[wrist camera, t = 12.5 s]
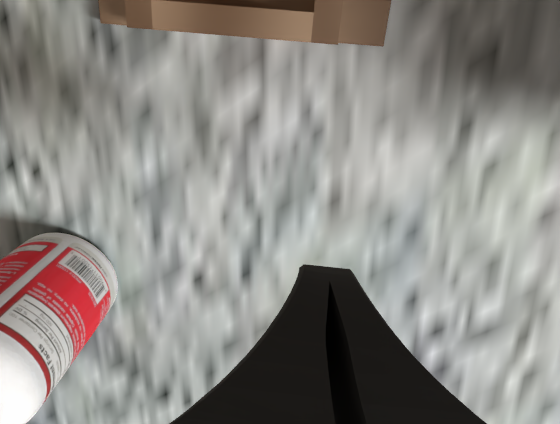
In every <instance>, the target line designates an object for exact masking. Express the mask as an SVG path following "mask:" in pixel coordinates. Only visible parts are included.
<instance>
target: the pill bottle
mask: <svg viewBox="0 0 560 424" xmlns="http://www.w3.org/2000/svg"><path fill="white" fill-rule="evenodd" d="M117 292H118V281H117V276H116V273H115V270H114V268H113V266H112V264H111V263H110V261H109V260H108V259H107V257H106V256H105V255H104V254H103V253H102V252H101V251H100V250H99V249H97V248H96V247H95V246H94V245H92V244H91V243H89V242H87V241H85V240H83V239H81V238H79V237H76V236H73V235H69V234H64V233H44V234H40V235H37V236H35V237H32V238H30V239H29V240H27V241H26V242H24V243H23V244H21V245H20V246H18V247H17V248H16V249H15V250H13V251H12V252H11V253H9V254H8V255H7V256H5V257H4V258H3V259H1V260H0V424H25V423H26V422H28V421H29V420H30V419H31V418H32V417H33V416H34V415H35V414H36V412H37V411H38V410H39V408H40V407H41V406H42V404H43V403H44V402H45V401H46V399H47V398H48V396H49V395H50V393H51V392H52V390H53V389H54V388H55V386H56V385H57V383H58V382H59V381H60V379H61V378H62V376H63V375H64V374H65V372H66V371H67V369H68V368H69V366H70V365H71V364H72V362H73V361H74V360H75V358H76V357H77V355H78V354H79V352H80V351H81V350H82V348H83V347H84V345H85V344H86V343H87V341H88V340H89V338H90V337H91V335H92V334H93V333H94V331H95V330H96V328H97V327H98V325H99V324H100V323H101V321H102V320H103V318H104V317H105V315H106V314H107V313H108V311H109V310H110V308H111V306H112V305H113V303H114V301H115V299H116V296H117Z"/></svg>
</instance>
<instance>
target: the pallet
mask: <svg viewBox="0 0 560 424" xmlns="http://www.w3.org/2000/svg"><path fill="white" fill-rule="evenodd" d="M98 2H99V11H100V21H101V23H105V24H117V25H127V27H130V28H142V29H155V30H167V31H179V32H191V33H203V34H215V35H227V36H240V37H252V38H264V39H276V40H288V41H300V42H312V43H325V44H337V45H338V43H348V44H360V45H372V46H384V40H385V34H386V28H387V22H388V16H389V10H390V4H391V0H98Z"/></svg>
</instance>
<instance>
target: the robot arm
mask: <svg viewBox="0 0 560 424" xmlns="http://www.w3.org/2000/svg"><path fill="white" fill-rule="evenodd" d="M170 424H486V423H485V422H484V421H483V420H482V419H480V418H479V417H478V416H477V415H475V414H474V413H473V412H472V411H471V410H470V409H468V408H467V407H466V406H465V405H464V404H463V403H462V402H460V401H459V400H458V399H457V398H456V397H455V396H454V395H452V394H451V393H450V392H449V391H448V390H447V389H446V388H445V387H444V386H443V385H442V384H441V383H439V382H438V381H437V380H436V379H435V378H434V377H433V376H432V375H431V374H430V373H429V372H428V371H427V370H426V369H425V368H424V366H423V365H422V364H421V363H420V362H419V361H418V360H417V359H416V358H415V357H414V356H413V355H412V354H411V353H410V352H409V350H408V349H407V348H406V347H405V346H404V345H403V343H402V342H401V341H400V340H399V338H398V337H397V336H396V335H395V334H394V332H393V331H392V330H391V328H390V327H389V326H388V325H387V323H386V322H385V320H384V319H383V318H382V316H381V315H380V314H379V312H378V311H377V309H376V308H375V307H374V305H373V304H372V302H371V301H370V299H369V298H368V296H367V295H366V293H365V292H364V290H363V288H362V287H361V285H360V284H359V282H358V280H357V279H356V277H355V275H354V274H353V272H352V271H351V270H350V269H342V268H333V267H323V266H314V265H303V266H301V267H300V268H299V273H298V277H297V280H296V282H295V284H294V286H293V289H292V291H291V293H290V294H289V296H288V298H287V300H286V302H285V303H284V305H283V307H282V309H281V310H280V312H279V313H278V315H277V316H276V318H275V319H274V321H273V322H272V323H271V325H270V326H269V328H268V329H267V331H266V332H265V333H264V335H263V336H262V337H261V338H260V340H259V341H258V342H257V343H256V345H255V346H254V347H253V348H252V349H251V350H250V352H249V353H248V354H247V355H246V356H245V357H244V358H243V359H242V360H241V362H240V363H239V364H238V365H237V366H236V367H235V368H234V369H233V370H232V371H231V372H230V373H229V374H228V375H227V376H226V377H225V378H224V379H223V380H222V381H221V382H220V383H219V384H217V385H216V386H215V387H214V388H213V389H212V390H211V391H209V392H208V393H207V394H206V395H205V396H203V397H202V398H201V399H200V400H199V401H198V402H196V403H195V404H194V405H193V406H192V407H191V408H189V409H188V410H187V411H186V412H184V413H183V414H182V415H181V416H179V417H178V418H177V419H175V420H174V421H172V422H171V423H170Z"/></svg>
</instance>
